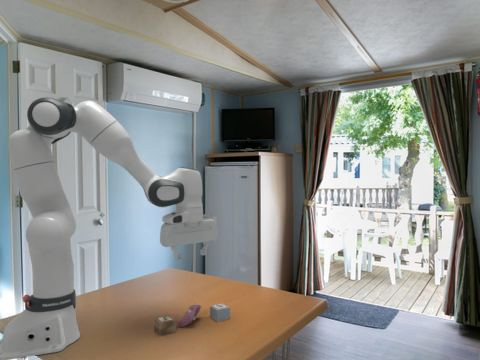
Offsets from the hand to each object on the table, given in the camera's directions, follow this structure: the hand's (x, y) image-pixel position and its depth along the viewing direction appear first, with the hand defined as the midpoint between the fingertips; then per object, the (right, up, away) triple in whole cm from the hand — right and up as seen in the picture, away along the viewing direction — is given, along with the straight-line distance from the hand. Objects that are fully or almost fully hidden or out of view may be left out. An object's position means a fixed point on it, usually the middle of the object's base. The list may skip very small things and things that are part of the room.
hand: (190, 256), depth 124 cm
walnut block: (-7, -22, -7) cm, 24 cm away
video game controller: (0, -22, 0) cm, 22 cm away
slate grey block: (+10, -22, +4) cm, 24 cm away
